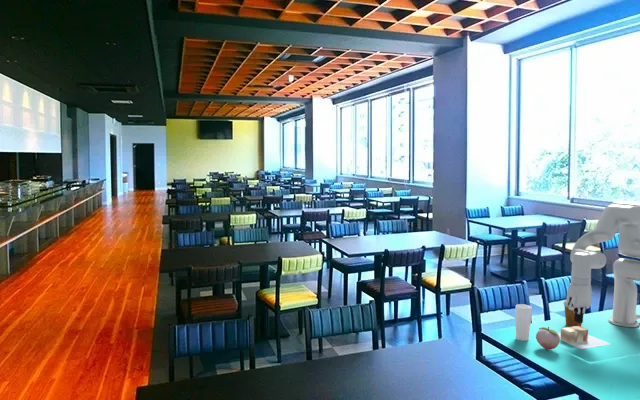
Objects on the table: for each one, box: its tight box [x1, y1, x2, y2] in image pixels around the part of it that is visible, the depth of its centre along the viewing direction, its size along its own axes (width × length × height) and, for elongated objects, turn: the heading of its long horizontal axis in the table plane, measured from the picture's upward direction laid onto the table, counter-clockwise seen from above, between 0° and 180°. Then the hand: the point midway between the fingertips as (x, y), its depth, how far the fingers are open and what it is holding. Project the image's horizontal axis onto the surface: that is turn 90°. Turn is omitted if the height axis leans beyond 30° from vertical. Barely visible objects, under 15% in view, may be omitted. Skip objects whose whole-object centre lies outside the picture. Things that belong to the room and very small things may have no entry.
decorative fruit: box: [535, 326, 561, 351], centre depth 211 cm, size 9×8×10 cm
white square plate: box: [557, 332, 612, 350], centre depth 222 cm, size 17×18×1 cm
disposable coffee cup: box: [563, 299, 583, 327], centre depth 239 cm, size 10×10×12 cm
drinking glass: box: [514, 303, 533, 342], centre depth 222 cm, size 7×7×15 cm
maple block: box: [560, 326, 589, 344], centre depth 221 cm, size 5×5×10 cm
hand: (578, 321), depth 221 cm, fingers closed
